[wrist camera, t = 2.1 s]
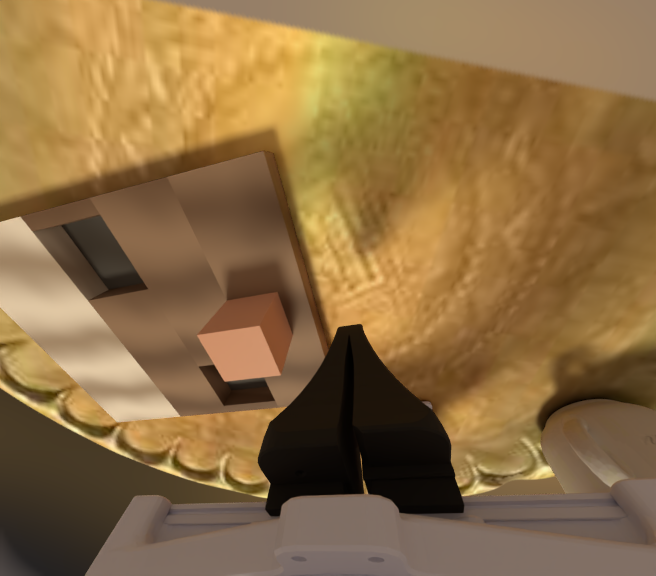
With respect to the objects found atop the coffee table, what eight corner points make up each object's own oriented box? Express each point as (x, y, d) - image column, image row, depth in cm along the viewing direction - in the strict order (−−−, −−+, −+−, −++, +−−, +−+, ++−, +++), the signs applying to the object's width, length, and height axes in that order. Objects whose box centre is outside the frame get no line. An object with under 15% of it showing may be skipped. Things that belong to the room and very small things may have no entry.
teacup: (656, 423, 24) (789, 532, 17) (544, 458, 28) (614, 558, 21) (612, 345, 20) (766, 446, 12) (488, 399, 23) (552, 499, 16)
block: (293, 335, 18) (280, 375, 15) (246, 341, 19) (224, 381, 15) (277, 291, 17) (259, 325, 13) (226, 300, 17) (196, 335, 14)
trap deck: (338, 384, 24) (338, 402, 22) (131, 405, 27) (117, 422, 26) (273, 153, 14) (263, 150, 12) (-28, 233, 18) (-68, 240, 16)
